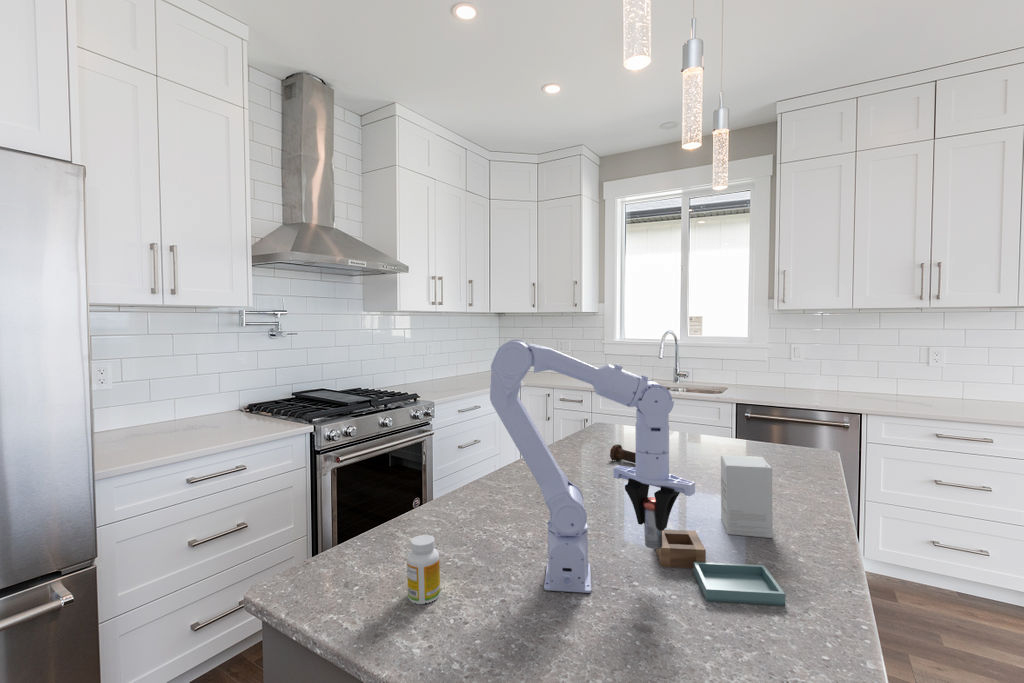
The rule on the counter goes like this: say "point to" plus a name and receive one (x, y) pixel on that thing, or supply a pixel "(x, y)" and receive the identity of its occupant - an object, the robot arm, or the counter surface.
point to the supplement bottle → (423, 570)
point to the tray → (738, 583)
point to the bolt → (622, 454)
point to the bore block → (680, 549)
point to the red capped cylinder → (651, 524)
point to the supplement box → (746, 496)
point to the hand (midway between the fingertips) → (652, 525)
